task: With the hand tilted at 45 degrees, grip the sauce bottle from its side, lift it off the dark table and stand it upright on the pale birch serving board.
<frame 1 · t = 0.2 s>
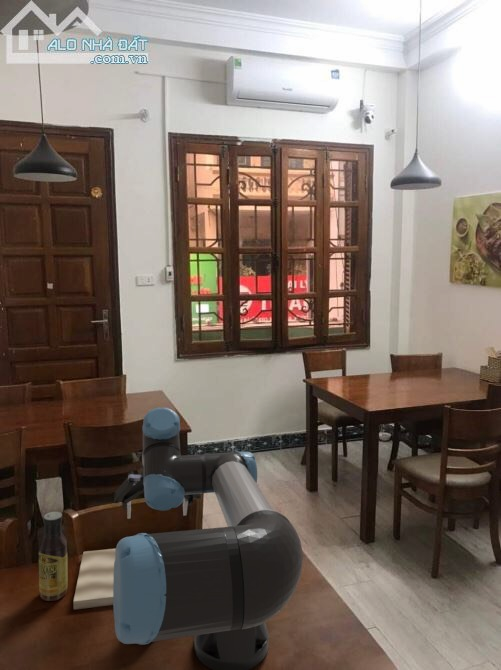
hand: (157, 512, 128), 16 cm above the table, tool tilted 35°, fingers open, 13 cm apart
birch board: (108, 578, 126), on the table
sauce bottle: (54, 595, 120), on the table
mug: (151, 628, 110), on the table
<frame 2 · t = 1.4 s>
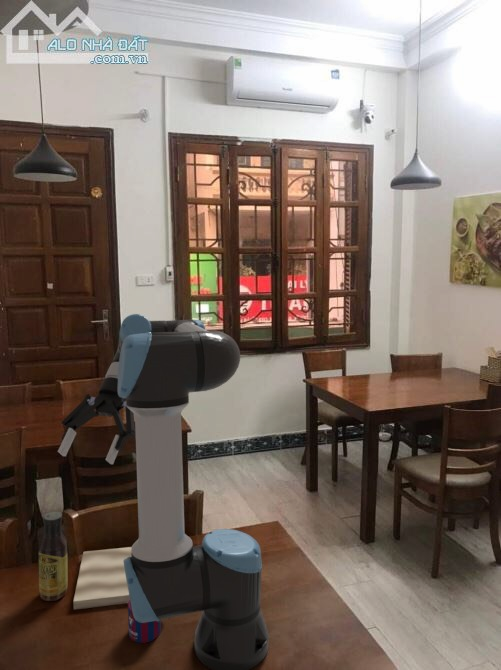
hand: (84, 458, 124), 30 cm above the table, tool tilted 45°, fingers open, 13 cm apart
nothing on the table moved.
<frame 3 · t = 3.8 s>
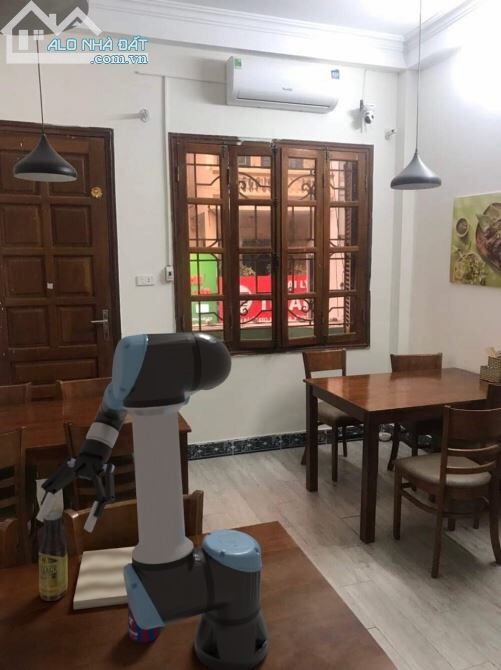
hand: (63, 525, 123), 15 cm above the table, tool tilted 45°, fingers open, 13 cm apart
nothing on the table moved.
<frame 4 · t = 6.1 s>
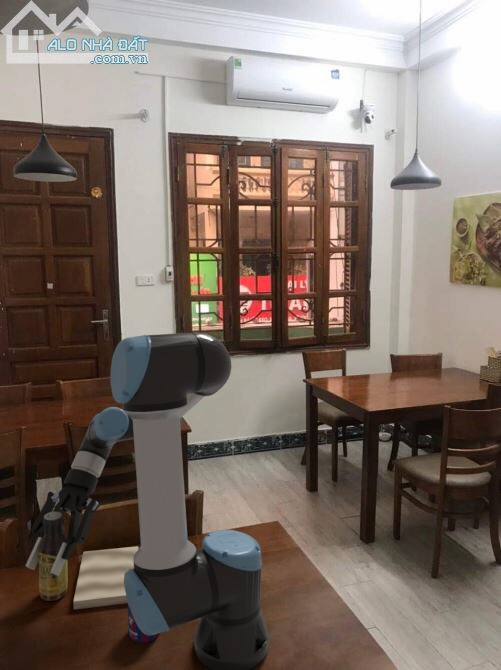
hand: (42, 570, 115), 8 cm above the table, tool tilted 45°, fingers closed on sauce bottle, 6 cm apart
sauce bottle: (54, 595, 120), on the table, touching gripper
everything else where it was.
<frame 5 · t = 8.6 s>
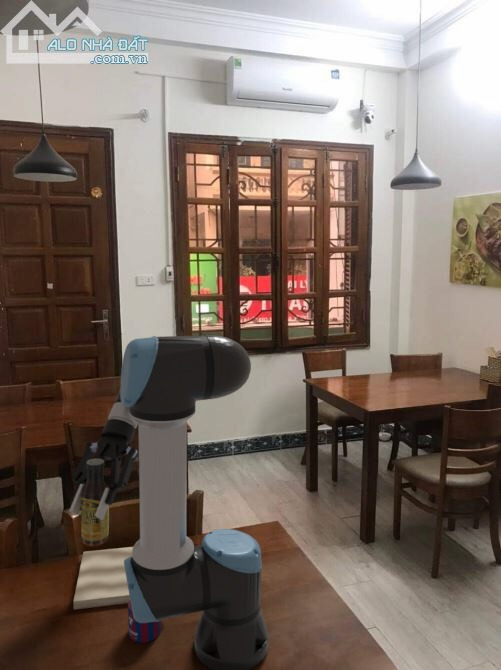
hand: (86, 515, 117), 20 cm above the table, tool tilted 45°, fingers closed on sauce bottle, 6 cm apart
sauce bottle: (96, 541, 122), point 11 cm above the table, touching gripper
everything else where it was.
when the fingers open (12 cm above the table, at t = 11.1 s): sauce bottle drops 1 cm, resting on birch board.
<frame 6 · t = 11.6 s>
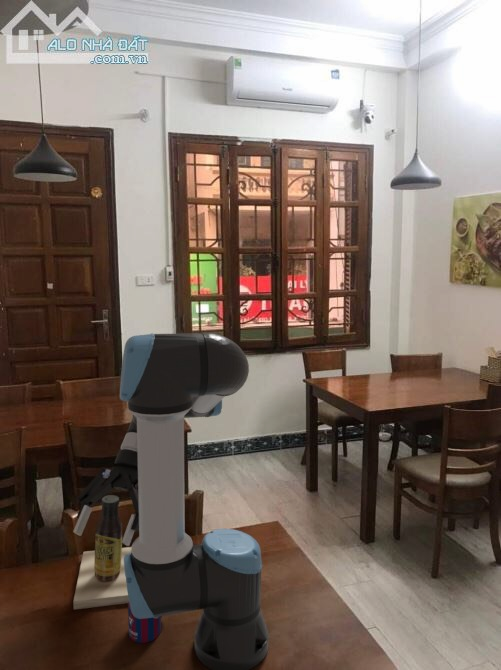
hand: (100, 539, 120), 13 cm above the table, tool tilted 45°, fingers open, 12 cm apart
sauce bottle: (108, 576, 124), point 2 cm above the table, touching birch board
everything else where it was.
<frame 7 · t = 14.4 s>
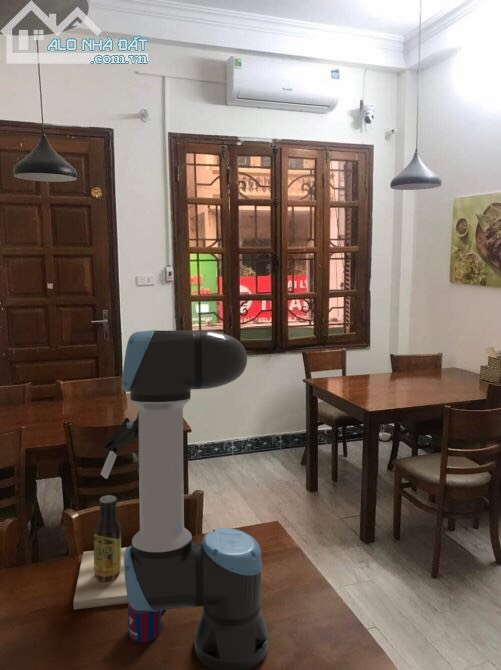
hand: (127, 480, 130), 22 cm above the table, tool tilted 45°, fingers open, 13 cm apart
nothing on the table moved.
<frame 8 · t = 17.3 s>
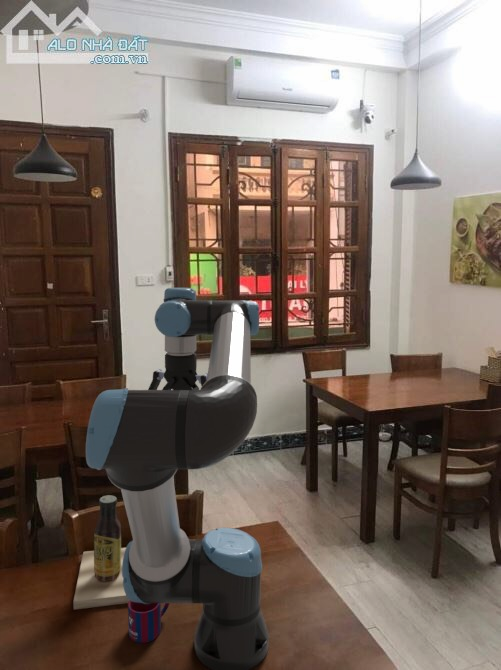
hand: (181, 438, 126), 35 cm above the table, tool pointing down, fingers open, 13 cm apart
nothing on the table moved.
at the end: sauce bottle inside the target area on the birch board (1.7 cm from its centre), point 1.8 cm above the birch board's base; sauce bottle tilted 0°; the gripper is holding nothing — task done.
